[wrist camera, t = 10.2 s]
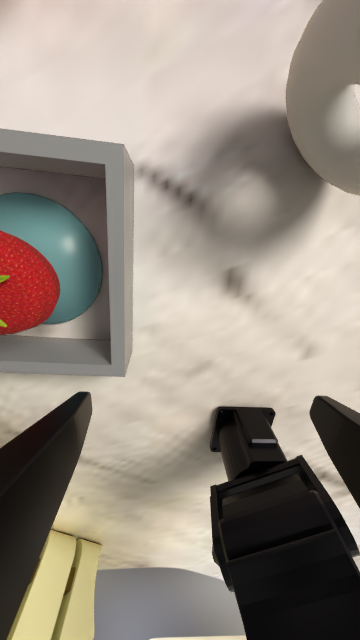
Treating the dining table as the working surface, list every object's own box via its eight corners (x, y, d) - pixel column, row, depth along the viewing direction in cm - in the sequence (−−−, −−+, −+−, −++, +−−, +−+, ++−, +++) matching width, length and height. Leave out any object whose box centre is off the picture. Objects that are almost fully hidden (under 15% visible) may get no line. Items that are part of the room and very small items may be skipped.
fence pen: (132, 351, 21) (124, 376, 17) (-38, 343, 20) (-85, 368, 16) (134, 165, 15) (123, 144, 12) (-102, 136, 14) (-196, 103, 10)
